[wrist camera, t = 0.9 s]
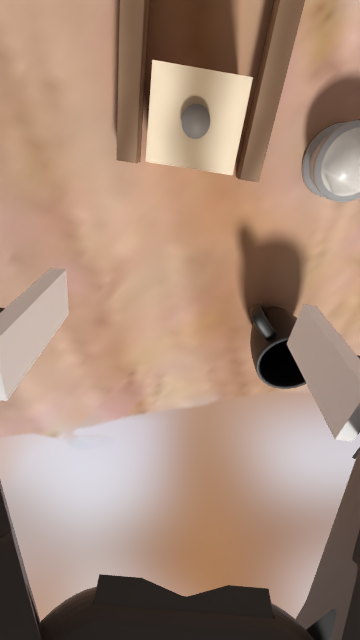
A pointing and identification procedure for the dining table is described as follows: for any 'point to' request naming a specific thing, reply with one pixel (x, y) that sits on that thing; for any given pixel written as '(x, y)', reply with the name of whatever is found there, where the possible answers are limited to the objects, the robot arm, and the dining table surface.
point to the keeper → (195, 117)
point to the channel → (265, 93)
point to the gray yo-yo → (334, 162)
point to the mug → (274, 347)
